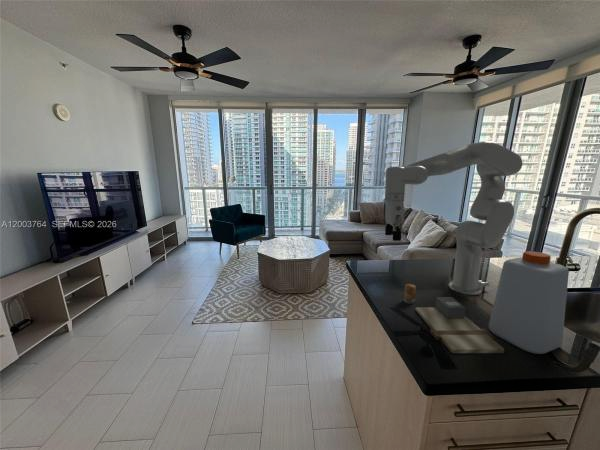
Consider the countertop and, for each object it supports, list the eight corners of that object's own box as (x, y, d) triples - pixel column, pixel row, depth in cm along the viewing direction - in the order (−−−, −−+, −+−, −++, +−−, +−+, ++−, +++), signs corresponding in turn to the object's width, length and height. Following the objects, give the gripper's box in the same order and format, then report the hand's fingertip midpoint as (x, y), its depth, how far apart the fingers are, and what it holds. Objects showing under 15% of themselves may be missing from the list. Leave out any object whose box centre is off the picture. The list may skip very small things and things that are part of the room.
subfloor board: (458, 309, 96) (458, 306, 96) (509, 352, 72) (509, 348, 72) (411, 310, 96) (411, 307, 96) (447, 353, 72) (447, 349, 72)
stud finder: (450, 306, 96) (451, 296, 95) (464, 317, 88) (465, 307, 87) (435, 306, 96) (436, 296, 95) (447, 318, 88) (448, 307, 87)
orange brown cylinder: (411, 299, 105) (413, 283, 104) (416, 303, 101) (417, 287, 100) (402, 299, 105) (403, 283, 104) (406, 304, 101) (407, 288, 100)
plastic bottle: (567, 346, 75) (586, 257, 69) (537, 359, 69) (554, 265, 64) (510, 320, 89) (522, 244, 83) (482, 329, 83) (492, 250, 78)
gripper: (412, 198, 93) (409, 242, 96) (396, 195, 110) (394, 233, 113) (392, 199, 93) (390, 243, 96) (379, 196, 110) (378, 233, 113)
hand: (392, 237), depth 105 cm, fingers open, 9 cm apart
